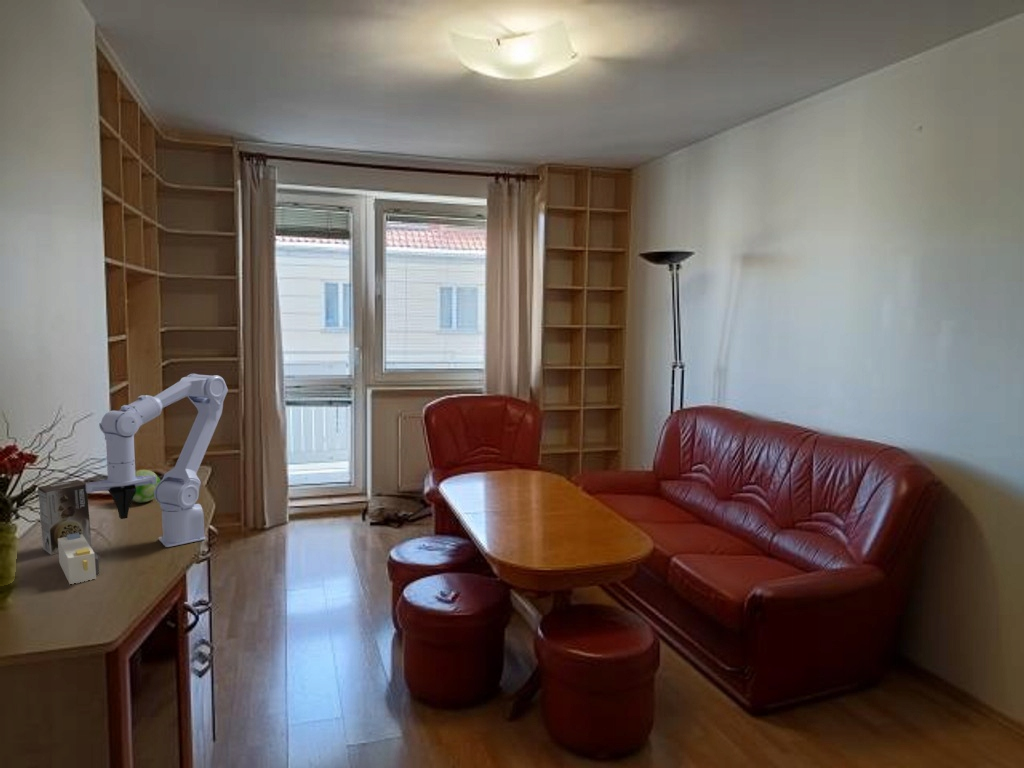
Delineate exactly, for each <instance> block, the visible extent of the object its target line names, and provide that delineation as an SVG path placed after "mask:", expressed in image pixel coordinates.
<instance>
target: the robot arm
mask: <svg viewBox="0 0 1024 768" xmlns="http://www.w3.org/2000/svg"><path fill="white" fill-rule="evenodd" d="M228 392H229V389H228V387H227V384H226V382H225V379H224V378H223V377H222V376H220V375H217V374H216V375H207V374H198V373H190V374H188V375H186V376H184V377H181V378H180V380H178V381H177V382H176V383H174V384H172V385H171V386H169V387H168V388H165V390H163V391H161V392H159V393H157V394H156V395H154V396H152V395H149V394H148V395H145V394H142V395H140V396H137V400H135V401H132V402H131V403H129V404H123V405H122V406H120V409H119V410H110V411H107V413H105V414H104V415H103V417H102V418H101V422H99V424H98V425H99V426H98V427H99V429H100V431H101V432H102V433H103V435H104V440H105V445H106V448H105V449H106V465H107V469H106V470H107V479H102V480H99V481H94V482H93V481H92V482H86V483H85V484H86V492H87V494H91V493H95V492H101V491H108V493H109V494H110V495H111V498H112V500H113V502H114V504H115V506H116V509H117V511H118V513H117V514H118V517H119V519H120V520H124V519H127V518H128V515H129V512H130V511H129V510H130V507H131V503H132V501H133V500H132V499H133V497H134V495H135V494H136V490H137V489H136V488H135V486H140V485H148V484H152V485H153V484H157V480H156V476H155V475H148V476H135V471H136V458H135V457H136V456H135V434H137V432H138V431H139V428H140V427H141V426H143V425H144V424H147V423H148V422H150V421H152V420H154V419H156V418H157V417H159V416H160V415H161V413H162V410H163V409H164V408H165V407H168V406H169V405H171V404H175V403H177V402H178V401H180V400H182V399H184V398H188V399H189V400H190V402H191V403H192V404H193V405H194V407H195V408H196V409H197V415H196V416H195V420H194V422H193V424H192V427H191V428H190V431H189V434H188V436H187V438H186V440H185V442H184V445H183V447H182V449H181V452H180V455H179V457H178V459H177V461H176V463H175V466H174V467H173V468H171V469H170V470H168V471H167V472H165V473H164V474H163V477H162V478H161V479H160V482H159V483H158V484H157V486H156V487H155V490H154V497H155V498H154V499H155V501H156V502H157V503H158V504H159V508H160V509H161V525H162V536H159V537H158V538H157V539H158V540H159V541H160V543H161V544H162V545H163V546H164V547H165V548H170V547H174V546H175V547H176V546H180V545H184V544H190V543H193V542H194V543H195V542H199V541H205V540H206V537H205V521H204V518H205V515H204V509H203V508H202V505H201V504H200V503H196V502H197V501H198V500H199V493H200V487H201V485H202V482H201V480H200V478H199V476H198V475H197V474H198V471H199V469H200V466H201V463H202V462H203V459H204V457H205V455H206V452H207V449H208V447H209V445H210V442H211V440H212V438H213V435H214V433H215V431H216V428H217V426H218V423H219V420H220V418H221V416H222V414H223V408H224V401H225V398H226V396H227V394H228Z"/></svg>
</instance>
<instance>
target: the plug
mask: <svg viewBox="0 0 1024 768" xmlns="http://www.w3.org/2000/svg"><path fill="white" fill-rule="evenodd" d="M94 553H95V567H96V575H97V576H99V575H100V571H99V568H100V567H99V557H98V553H96V552H94ZM98 574H99V575H98Z"/></svg>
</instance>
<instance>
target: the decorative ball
mask: <svg viewBox="0 0 1024 768" xmlns="http://www.w3.org/2000/svg"><path fill="white" fill-rule="evenodd" d="M148 475H155V476H156V480H157V484H158V483H159V482H160V481H161V479H160V477H159V476H158V475H157V474H156V473H155V472H154V471H151V470H148V469H139V470H135V476H148ZM157 484H153V485H152V484H148V485H140V486H135V488H136V489H137V490H136V494H135V495H134V497H133V499H132V501H134V502H135V503H139V504H140V503H147V502H150V501H152V500H153V499H155V497H154V490H155V487H156V486H157Z"/></svg>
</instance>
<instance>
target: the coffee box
mask: <svg viewBox="0 0 1024 768" xmlns="http://www.w3.org/2000/svg"><path fill="white" fill-rule="evenodd" d="M37 490H38V491H37V492H38V502H39V517H40V525H41V526H40V527H41V538H42V550H44V551H45V552H47V553H48V554H49V555H52V556H54V555H59V550H58V538H64V537H67V535H69V534H74V533H79V534H83V536H84V537H85V539H86V541H87V542H88V544H89V545H90V546H92V544H93V543H92V531H91V521H90V511H89V510H90V509H89V508H90V507H89V499H88V497H89V496H88V493H87V492H86V483H85V482H83V481H81V480H80V479H74V480H68V481H62V482H57V483H52V484H47V485H42V486H38V487H37Z"/></svg>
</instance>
